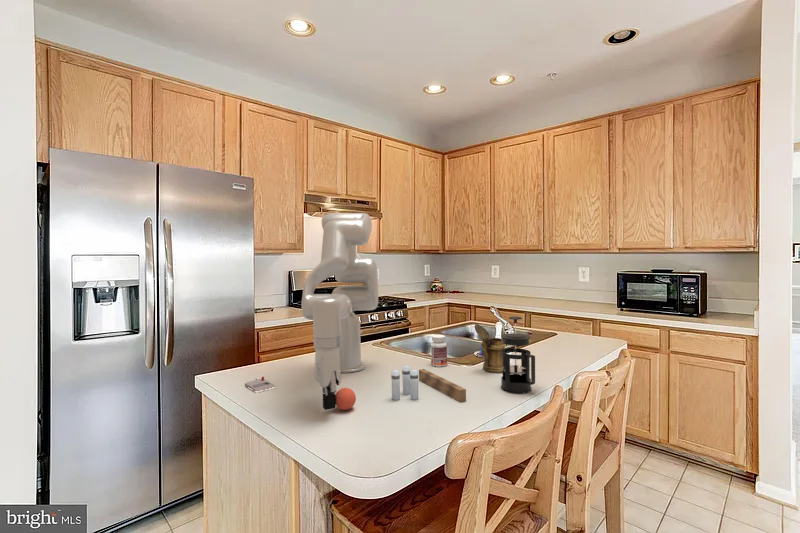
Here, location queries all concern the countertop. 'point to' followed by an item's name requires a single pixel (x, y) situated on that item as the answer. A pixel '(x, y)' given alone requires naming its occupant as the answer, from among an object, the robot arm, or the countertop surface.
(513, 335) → the french press
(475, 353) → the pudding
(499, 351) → the wooden mug
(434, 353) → the pill bottle
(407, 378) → the pin
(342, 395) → the ball
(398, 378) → the front pin
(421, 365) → the countertop surface
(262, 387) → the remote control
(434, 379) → the back wall
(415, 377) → the pin
